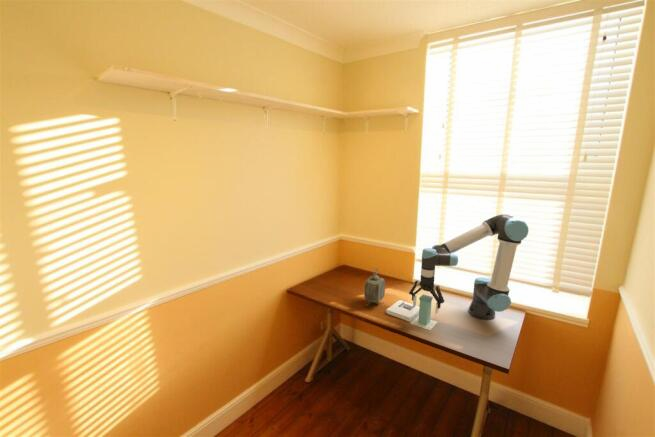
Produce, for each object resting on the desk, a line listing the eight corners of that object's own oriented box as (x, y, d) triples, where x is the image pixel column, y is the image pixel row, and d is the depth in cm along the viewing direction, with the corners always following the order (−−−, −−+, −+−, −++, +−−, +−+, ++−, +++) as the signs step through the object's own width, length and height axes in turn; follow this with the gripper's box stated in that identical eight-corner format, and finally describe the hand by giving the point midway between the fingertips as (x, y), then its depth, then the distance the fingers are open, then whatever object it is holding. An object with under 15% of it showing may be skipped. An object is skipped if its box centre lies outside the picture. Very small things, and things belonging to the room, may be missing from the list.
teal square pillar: (430, 322, 187) (432, 296, 184) (426, 325, 182) (428, 300, 179) (421, 319, 190) (423, 294, 187) (417, 322, 186) (419, 297, 183)
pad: (437, 322, 187) (437, 321, 187) (429, 330, 178) (429, 330, 178) (418, 316, 195) (418, 315, 195) (410, 323, 186) (410, 323, 186)
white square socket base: (422, 310, 201) (422, 306, 201) (410, 321, 188) (410, 316, 187) (399, 303, 211) (399, 299, 211) (386, 313, 198) (386, 308, 197)
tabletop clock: (372, 298, 218) (373, 264, 213) (384, 301, 214) (386, 266, 209) (363, 306, 206) (365, 270, 201) (376, 310, 201) (378, 273, 197)
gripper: (451, 278, 176) (449, 313, 180) (410, 268, 191) (408, 301, 195) (447, 282, 170) (444, 318, 174) (404, 272, 186) (402, 305, 190)
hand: (425, 309), depth 185 cm, fingers open, 13 cm apart
